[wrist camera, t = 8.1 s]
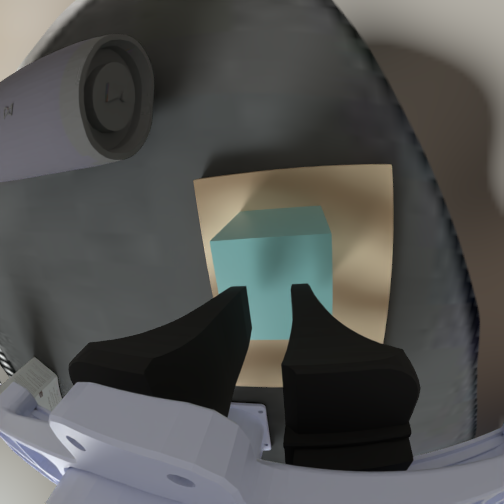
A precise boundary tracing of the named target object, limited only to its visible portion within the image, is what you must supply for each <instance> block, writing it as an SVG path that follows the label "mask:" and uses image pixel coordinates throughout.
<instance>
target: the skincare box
mask: <svg viewBox="0 0 504 504" xmlns="http://www.w3.org/2000/svg"><path fill="white" fill-rule="evenodd" d="M12 382H16V383H17V384H19V385H21V386H23V387H25V388H26V389H27V390H28V391H29V392H30V393H31V394H32V395H33V397H34V398H35V400H36V401H37V404H38V405H40V406H42V407H44V408H45V409H47V410H49V411H51V412H52V411H53V410H54V408H55V407H56V406H57V405H58V404H59V402H60V401H61V400H62V397H61V394H60V389H59V385H58V377H57V375H56V374H55V373H54V372H52V371H51V370H50V369H49V368H47V367H46V366H45V365H44V364H43V363H41V362H40V361H39V360H38V359H37V358H36V357H34V358H32V359H31V360H30V361H29V362H28V363H27V364H25V365H24V366H23V367H22V368H21V369H20V370H18V371H17V372H16V373H15V374H14V375H13V376H11V377H10V378H9V379H8V380H7V381H6V382H5V383H3V384H2V385H1V386H0V394H1V393H2V392H3V391H4V390H5V389H6V388H7V387H8V386H9V385H10V384H11V383H12Z"/></svg>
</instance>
